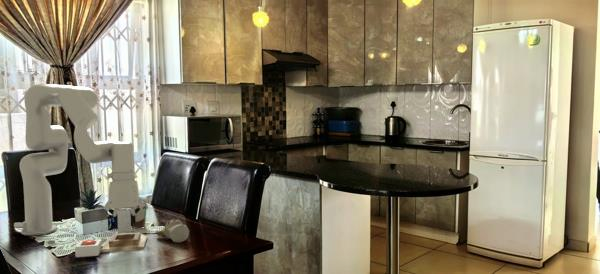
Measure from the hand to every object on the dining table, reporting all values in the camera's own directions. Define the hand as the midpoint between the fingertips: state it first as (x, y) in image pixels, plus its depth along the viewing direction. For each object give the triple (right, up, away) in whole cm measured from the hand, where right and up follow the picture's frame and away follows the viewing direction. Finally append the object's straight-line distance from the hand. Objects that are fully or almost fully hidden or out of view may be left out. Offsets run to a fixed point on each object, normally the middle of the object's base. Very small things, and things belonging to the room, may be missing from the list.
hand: (125, 225), depth 170 cm
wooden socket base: (0, -7, +1) cm, 7 cm away
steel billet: (0, -2, 0) cm, 2 cm away
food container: (-5, -5, +27) cm, 28 cm away
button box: (-9, -8, -9) cm, 15 cm away
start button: (-9, -6, -9) cm, 14 cm away
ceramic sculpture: (+16, -7, +8) cm, 19 cm away
